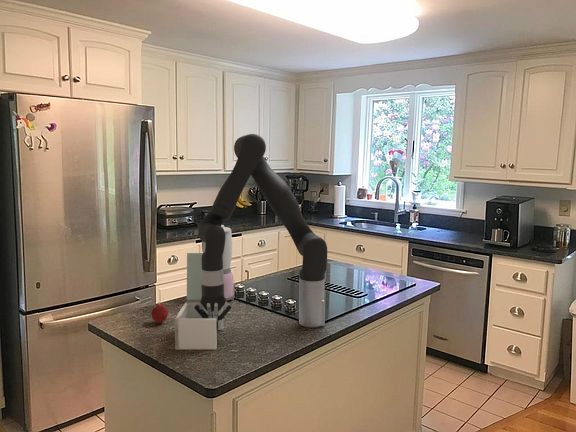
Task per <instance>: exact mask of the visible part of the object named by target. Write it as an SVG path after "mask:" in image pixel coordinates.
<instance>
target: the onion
mask: <svg viewBox="0 0 576 432" xmlns="http://www.w3.org/2000/svg"><path fill="white" fill-rule="evenodd" d="M168 315H169V311H168V309H167V307H166V306H165V305H164V304H162V303H161V302H160V301H158V302H157V304H156V306H154V307H153V309H152V310H151V314H150V316H151V318H152V320H154V321H155V322H156V323H157V324H161V323H163V322H165V321H166V320H167V318H168Z"/></svg>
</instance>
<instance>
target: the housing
mask: <svg viewBox="0 0 576 432" xmlns="http://www.w3.org/2000/svg"><path fill="white" fill-rule="evenodd" d="M198 303H200V302H187V301H185V302H184V304H183V306H182V307H181V308H180V310H179V312H178V313H177V315H176V317H175V318H174V319H173V320H174V344H175V345H174V347H175V348H174V349H175V350H217V349H218V344H217V341H218V340H217V339H218V337H217V335H218V333H217V331H223V330H224V318H223V319H222V320H219V321H218V330H216V318H214V311H213V318H202V317H201V316H200V314H199V313H198V312H197V311H196V310H195V308H194V307H195V305H196V304H198ZM202 309H203V310H204V311H205V312H206V313H207V315H208V311H207V310H206V309H205V308H204V307H203V305H202ZM223 311H224V306H223V307H222V308H221V310H220V311H219V315H221V313H222V312H223ZM219 315H218V316H219ZM197 317H198V318H197Z"/></svg>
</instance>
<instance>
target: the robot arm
mask: <svg viewBox="0 0 576 432" xmlns="http://www.w3.org/2000/svg"><path fill="white" fill-rule="evenodd" d="M233 150H234V152H233V153H234V155H235V156H236V162H235V165H234V166H233V169H232V171H231V173H230V174H229V175H228V177H227V178H226V180H225V181H224V183H222V186H221V188H220V189H219V191H218V192H217V195H216V197H215V199H214V201H213V203H212V206H211V208H210V210H209V211H208V212H207V213H206V214H205V217H204V218H203V219H202V221H201V222H200V224H199V227H198V230H197V235H198V238H199V239H200V241H201V242H202V241H203V242H205V243H206V247H205V252H204V253H203V252H202V253H203V254H202V258H201V261H202V273H201V289H202V298H201V300H200V303H198V304H196V305H195V307H194V308H195V310H196V311H197V312H198V313H199V314H200V316H201V317H202V318H213V311H214V318H216V330H217V331H219V330H218V321H219V320H222V319H223V320H224V318H225V316H226V315H228V313H229V311H231V309H232V307H233V304H232V303H229V302H228V301H226V299H225V297H224V273H223V252H224V247H225V240H226V237H225V231H224V229H223V228H222V227H221V225H224V222H225V221H226V220H229V219H230V218H231V216H232V215H233V213H234V210H235V209H236V206H237V204H238V201H239V199H240V197H241V195H242V193H243V190H244V188H245V186H246V185H247V182H248V181H249V180H250V177H252V178H253V180H254V182H255V183H256V185H257V187H258V189H259V190H260V193H261V194H262V195H263V197H264V200H265V201H266V202H267V204H268V205H269V207H270V209H271V210H272V212H273V213H274V214H275V216H276V217H277V218H278V220H279V222H281V224H282V225H283V226H284V227H285V229H286V230H287V232H288V234H289V235H290V237H291V239H292V241H293V243H294V245H295V247H296V250H297V251H298V253H299V254H300V256H302V267H301V269H300V270H299V272H298V275H299V276H298V277H299V278H298V279H299V281H298V282H299V283H298V284H299V287H298V289H299V291H298V292H299V293H298V324H299V325H300V326H303V327H305V328H319V327H325V325H326V324H325V323H326V322H325V315H326V314H325V310H326V308H325V307H326V304H325V303H326V301H325V300H326V299H325V281H326V279H325V275H326V272H327V268H328V267H327V266H328V245H327V242H326V240H324V239H323V238H322V237H321V236H318V235H317V234H315V233H314V232H313V230H312V229H311V228H310V226H309V225H308V223H307V222H306V220H305V219H304V217H303V214H302V210H301V207H300V205H299V202H298V200H297V198H296V196H295V195H294V193H293V191H292V190H291V188H290V186H289V185H288V184H287V183H286V182H285V181H284V180H283V178H282V177H280V175H278V174H277V172H275V171H274V169H272V167H271V166H270V165H269V164H268V162H267V161H266V159H265V157H264V156H265V153H266V150H267V144H266V142H265V139H264V138H263V137H262V136H261V135H259V134H256V133H249V134H245V135H242V136H240V137H238V138H237V139H236V140H235V142H234V146H233ZM202 305H203V307H204V308H205V309H206V310H207V311H208V315H207V313H206V312H205V311H204V310H203V309H202ZM222 307H223V312H222V313H221V315H219V311H220V310H221V308H222ZM218 315H219V316H218Z"/></svg>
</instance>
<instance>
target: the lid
mask: <svg viewBox="0 0 576 432" xmlns="http://www.w3.org/2000/svg"><path fill="white" fill-rule="evenodd" d="M202 254H203V252H187V253H186V302H200V300H201V298H202V289H201V273H202V261H201V258H202Z"/></svg>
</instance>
